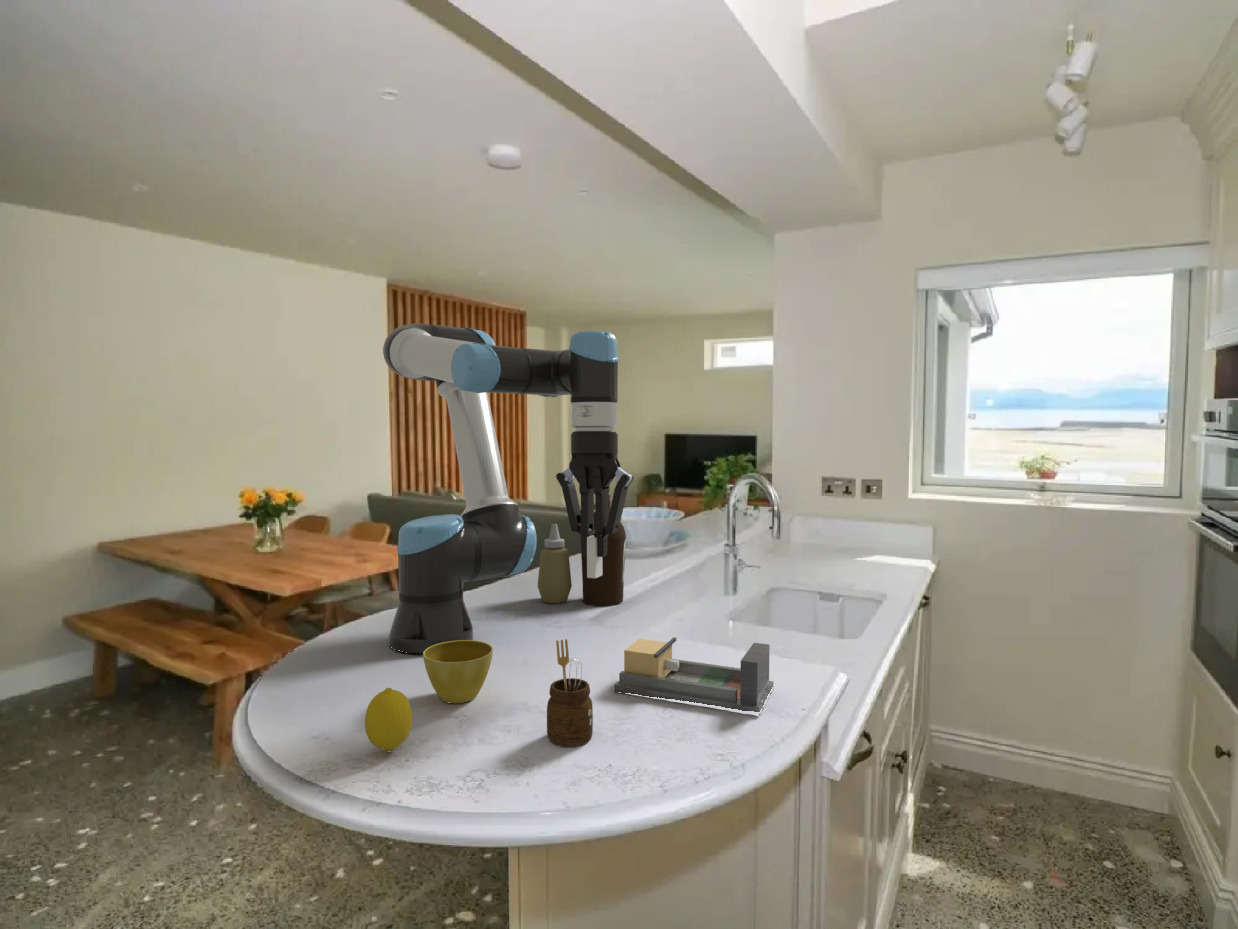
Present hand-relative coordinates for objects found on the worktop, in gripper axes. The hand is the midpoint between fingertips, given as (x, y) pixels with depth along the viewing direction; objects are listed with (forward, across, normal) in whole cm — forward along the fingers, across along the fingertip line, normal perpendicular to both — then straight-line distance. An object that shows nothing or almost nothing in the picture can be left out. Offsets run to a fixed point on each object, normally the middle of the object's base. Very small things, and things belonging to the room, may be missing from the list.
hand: (594, 576), depth 110 cm
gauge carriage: (+15, +10, 0) cm, 18 cm away
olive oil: (+16, -19, +45) cm, 51 cm away
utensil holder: (+17, +6, -22) cm, 28 cm away
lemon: (+17, -12, -34) cm, 40 cm away
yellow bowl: (+17, -15, -16) cm, 28 cm away
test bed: (+16, +17, 0) cm, 23 cm away
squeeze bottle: (+16, -29, +41) cm, 53 cm away
